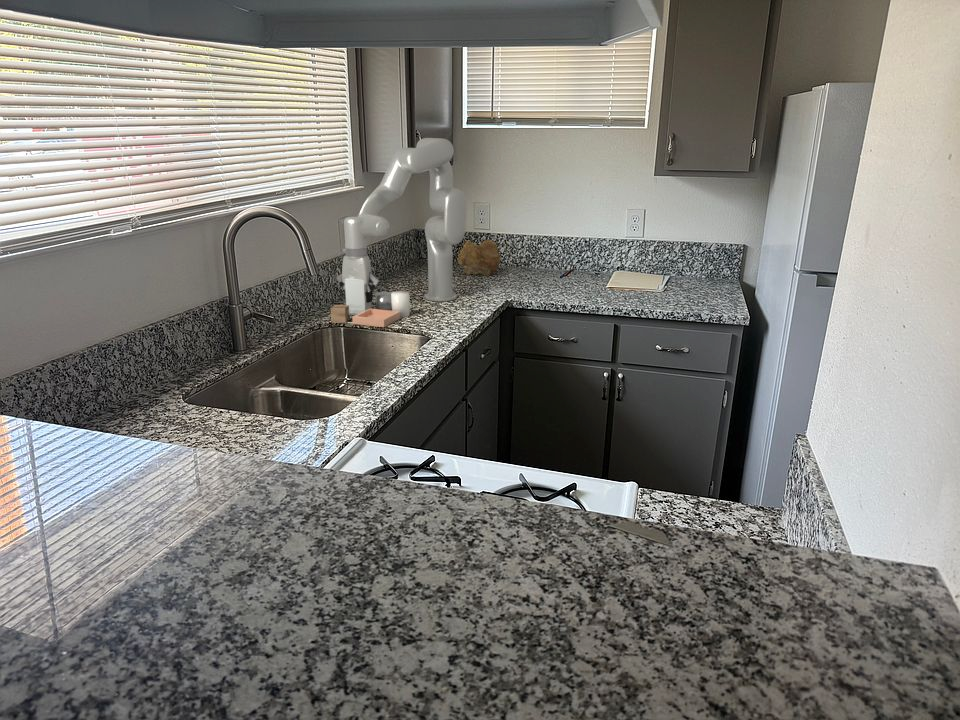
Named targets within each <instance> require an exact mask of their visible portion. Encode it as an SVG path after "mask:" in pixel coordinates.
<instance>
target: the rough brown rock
mask: <svg viewBox="0 0 960 720" xmlns="http://www.w3.org/2000/svg"><path fill="white" fill-rule="evenodd" d="M457 263H458V264H459V265H460V266H461V267H462V269H463V271H464V273H465V274H466V275H472V274H473V275H480V274H481V275H482V276H486V277H489V276H491V275H492V274H493V273H494V272H496V271H497V270H498V268H499V266H500V264H501V255H500V250H499V249H498V245H497V243H496V242H495V241H493V240H489V239H485V240H484V241H482V243H481V244H479V245H477V244H476V245H475V244H474V243H473V242H472V241H471V240H466V241H465V244H464V246H463V247H462V248H461V249H460V251H459V254H458V257H457Z"/></svg>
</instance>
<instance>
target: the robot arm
mask: <svg viewBox="0 0 960 720" xmlns="http://www.w3.org/2000/svg"><path fill="white" fill-rule="evenodd" d="M454 152H455V151H454V146H453V143H452V142H451V141H450V140H449V139H446V138H440V137H439V138H437V137H435V138H434V137H424V138H421V139H419V140H418V141H417V142H416V147H401V148H398V149H397V150H395V152H394V153H393V156H392V158H391V160H390V162H389V165H388V166H387V169H386V170H385V171H386V172H384V175H383V177H382V179H381V181H380V183H379V185H378V186H377V187H376V188H374V190H373V191H372V193H370V194H369V195H368V197H367V198H366V199H365V201H364V202H363V204H362V207H361V209H360V211H359V213H358V214H357V216H348V217H346V218H344V219H343V220H344V221H343V229H344V245H345V246H344V248H342V252H343V253H345V255H344V256H343V258H342V265H341V266H342V267H341V268H342V269H341V273H340V274H339V275H338V276H336V280H337V281H338V283H339V285H340V286H341V288H342V289H343V291H344V298H345V299H344V300H345V301H346V292H345V279H358V280H364V285H366V290H367V292H366V302H367V303H369V302H371V301H372V302H373V299H374V295H373V292H374V290H375V288H377V286H378V285H379V283H380V280H379V279H378V278H377V277H376V276H375V275H373V272H372V264H371V261H370V257H369V256H368V240H367V239H368V238H381V237H385V236H386V235H387V234H388V233H389V231H390V223H389V221H388V219H386V218H385V217H384V216H380V214H381V212H382V211H383V209H385V207H386V206H387V205H389V204H390V203H392V202H393V201H395V200H397V199H399V198H401V197H402V195H404V191H405V190H406V187H407V185H408V183H409V181H410V179H411V177H412V175H413V174H421V173H424V172H427V171H429V199H428V200H429V207H430V208H431V210H433V212H437V213H441V214H443V216H441V215H435V216H431V217H430V218H429V219H428V220H427V221H426V223H425V225H424V234H425V239H426V248H427V279H428V280H427V285H428V288H427V289H428V291H427V293H425V294H424V299H425V300H427V301H430V302H449V301H454V300H457V298H458V297H457V294H456V293H454V290H455V287H456V286H455V284H454V282H453V280H454V279H453V278H454V276H453V269H454V268H453V265H454V264H453V263H454V262H453V258H454V257H453V248H452V247H453V245H458V244H460V243H461V242H462V241H463V239H464V237H465V234H466V227H467V226H466V225H467V210H468V209H467V206H468V204H467V198H466V196H465V194H464V193H463V191H461V190H460V189H458V188H455V187H454V172H453V168H452V167H453V166H452V165H451V163H450V161H451V159H453V155H454ZM453 289H454V290H453Z"/></svg>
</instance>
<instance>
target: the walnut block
mask: <svg viewBox="0 0 960 720" xmlns="http://www.w3.org/2000/svg"><path fill="white" fill-rule="evenodd" d="M330 317H331V319H330V320H331V323H341V324H342V323H343V324H345V323H347V322H348V321H349V320H350V318H351V317H350V313H349V305H346V304H333V306H332V307H330Z"/></svg>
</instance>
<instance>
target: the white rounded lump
mask: <svg viewBox="0 0 960 720" xmlns="http://www.w3.org/2000/svg"><path fill="white" fill-rule="evenodd" d="M390 293H391V302H392V311H399V312H400V318H407V317H410V315H411V307H410V306H411V305H410V304H411V303H410V299H411V298H410V291H405V290H396V291H392V292H390Z"/></svg>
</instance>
